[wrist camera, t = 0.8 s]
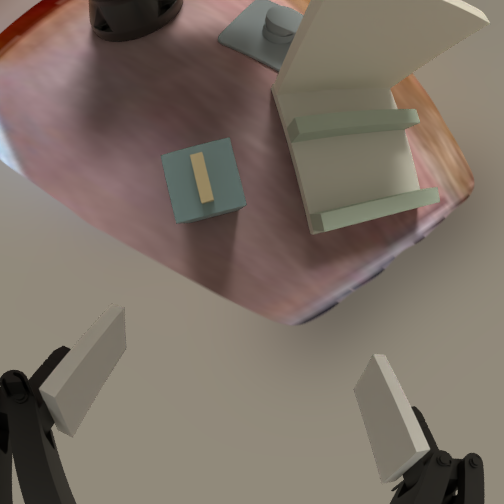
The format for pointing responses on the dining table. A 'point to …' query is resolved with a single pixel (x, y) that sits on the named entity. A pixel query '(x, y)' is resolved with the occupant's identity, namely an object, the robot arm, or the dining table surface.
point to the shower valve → (263, 32)
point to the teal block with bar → (203, 181)
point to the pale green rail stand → (360, 102)
